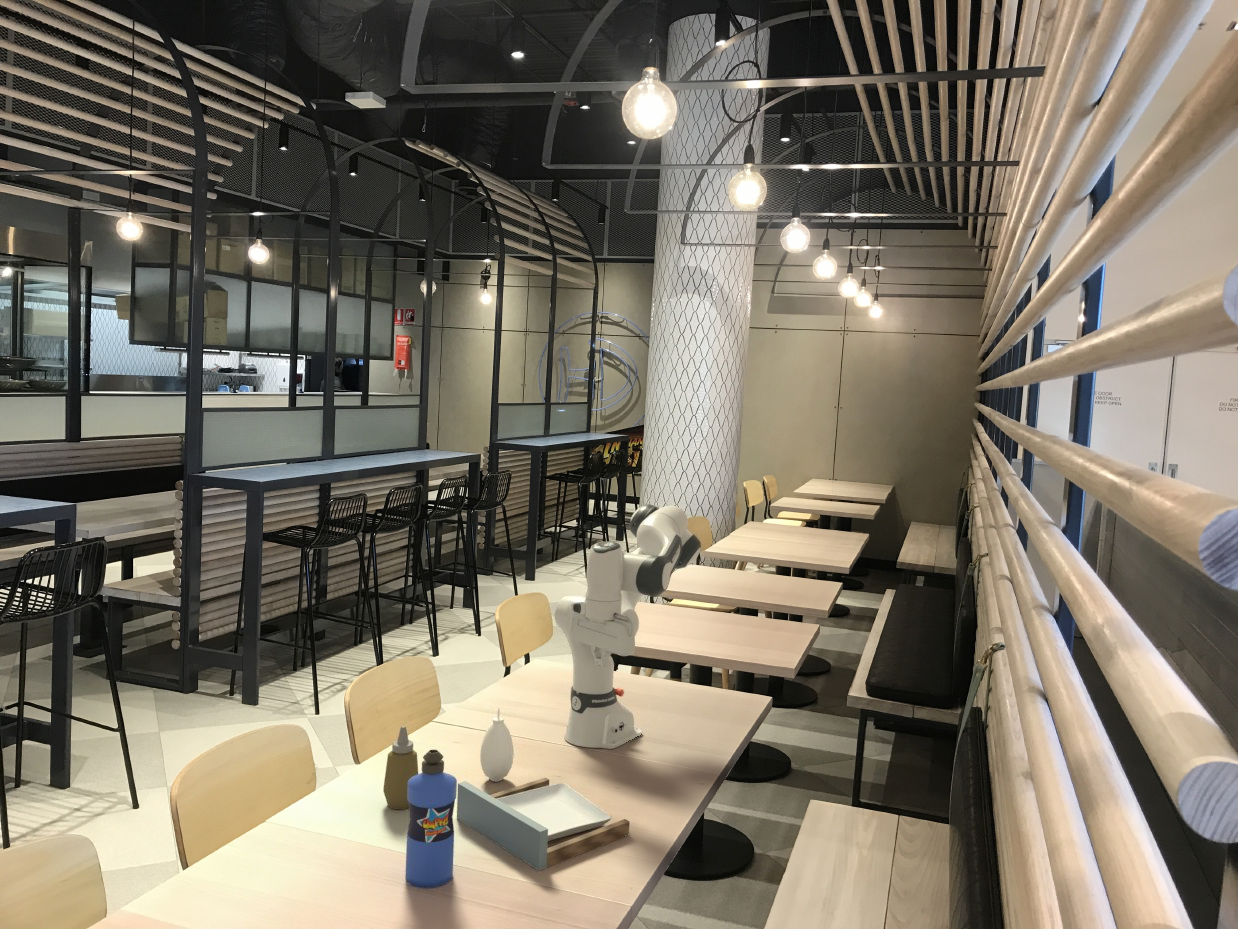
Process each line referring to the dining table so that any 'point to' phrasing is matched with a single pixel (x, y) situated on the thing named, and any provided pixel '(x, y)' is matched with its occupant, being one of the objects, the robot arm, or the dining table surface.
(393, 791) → the squeeze bottle
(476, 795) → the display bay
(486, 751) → the white dust blower
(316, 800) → the dining table surface
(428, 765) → the water bottle
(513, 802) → the salad plate
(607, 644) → the robot arm
